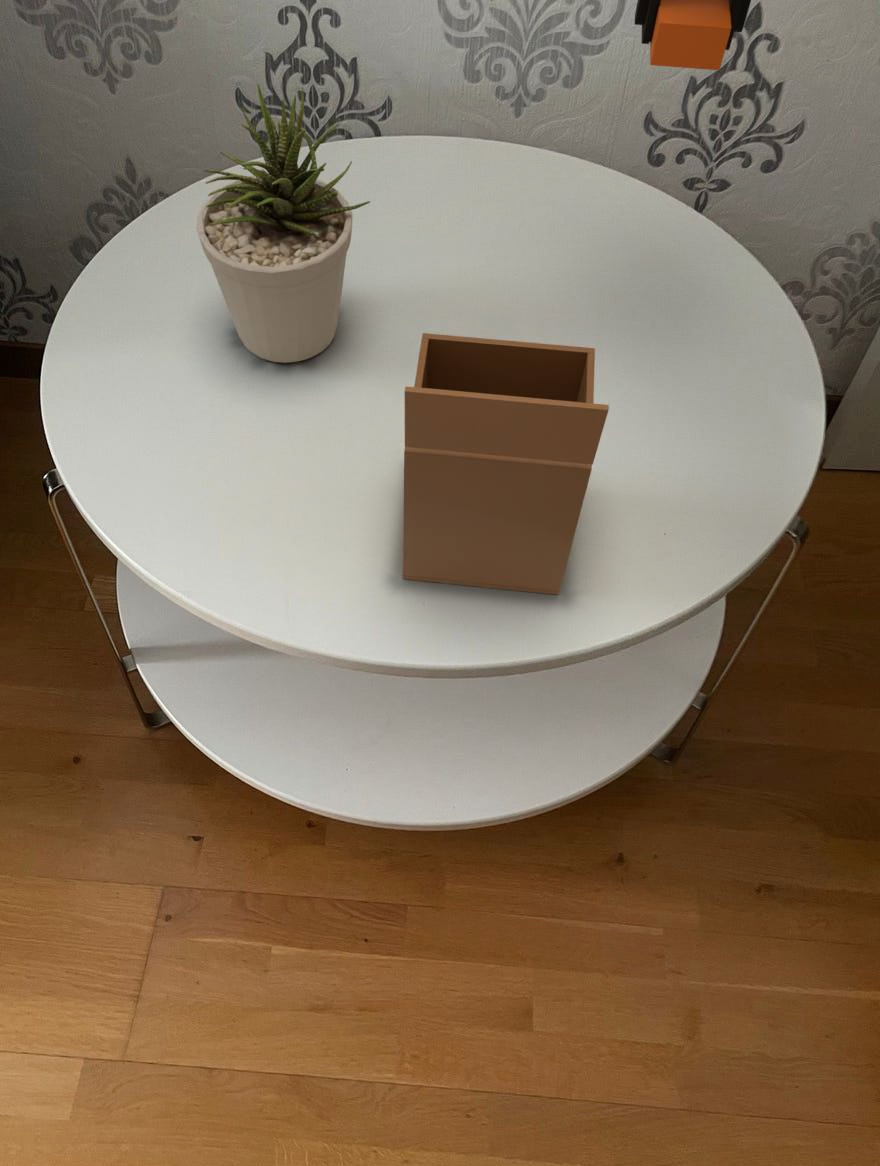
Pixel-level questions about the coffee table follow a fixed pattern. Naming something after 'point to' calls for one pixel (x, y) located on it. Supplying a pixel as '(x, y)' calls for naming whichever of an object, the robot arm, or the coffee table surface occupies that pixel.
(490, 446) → the carton flap
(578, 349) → the carton
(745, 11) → the robot arm
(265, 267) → the potted plant
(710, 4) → the block
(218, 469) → the coffee table surface
